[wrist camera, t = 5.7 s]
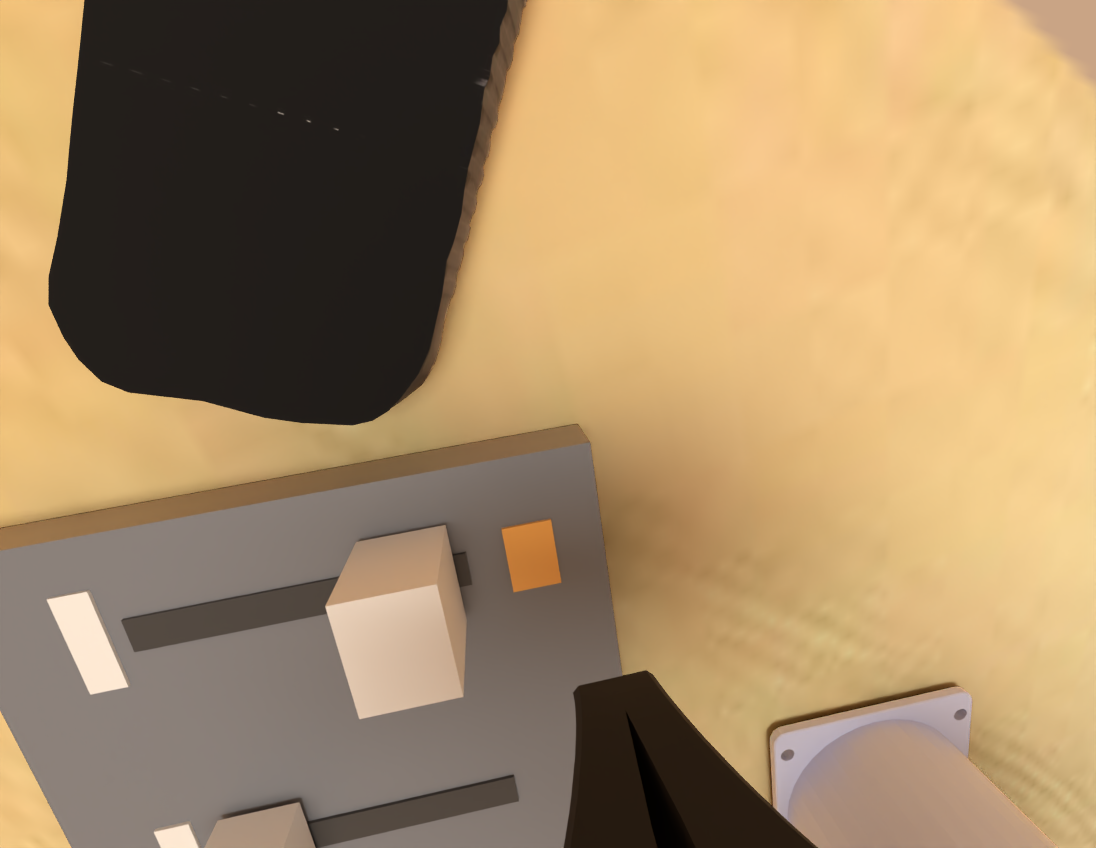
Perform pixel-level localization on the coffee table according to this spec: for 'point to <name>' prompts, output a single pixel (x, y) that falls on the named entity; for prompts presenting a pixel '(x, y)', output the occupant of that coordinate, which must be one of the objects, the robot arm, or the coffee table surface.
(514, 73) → the coffee table surface
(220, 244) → the black sponge
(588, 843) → the robot arm
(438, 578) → the block
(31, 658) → the grey flat block
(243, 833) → the block
